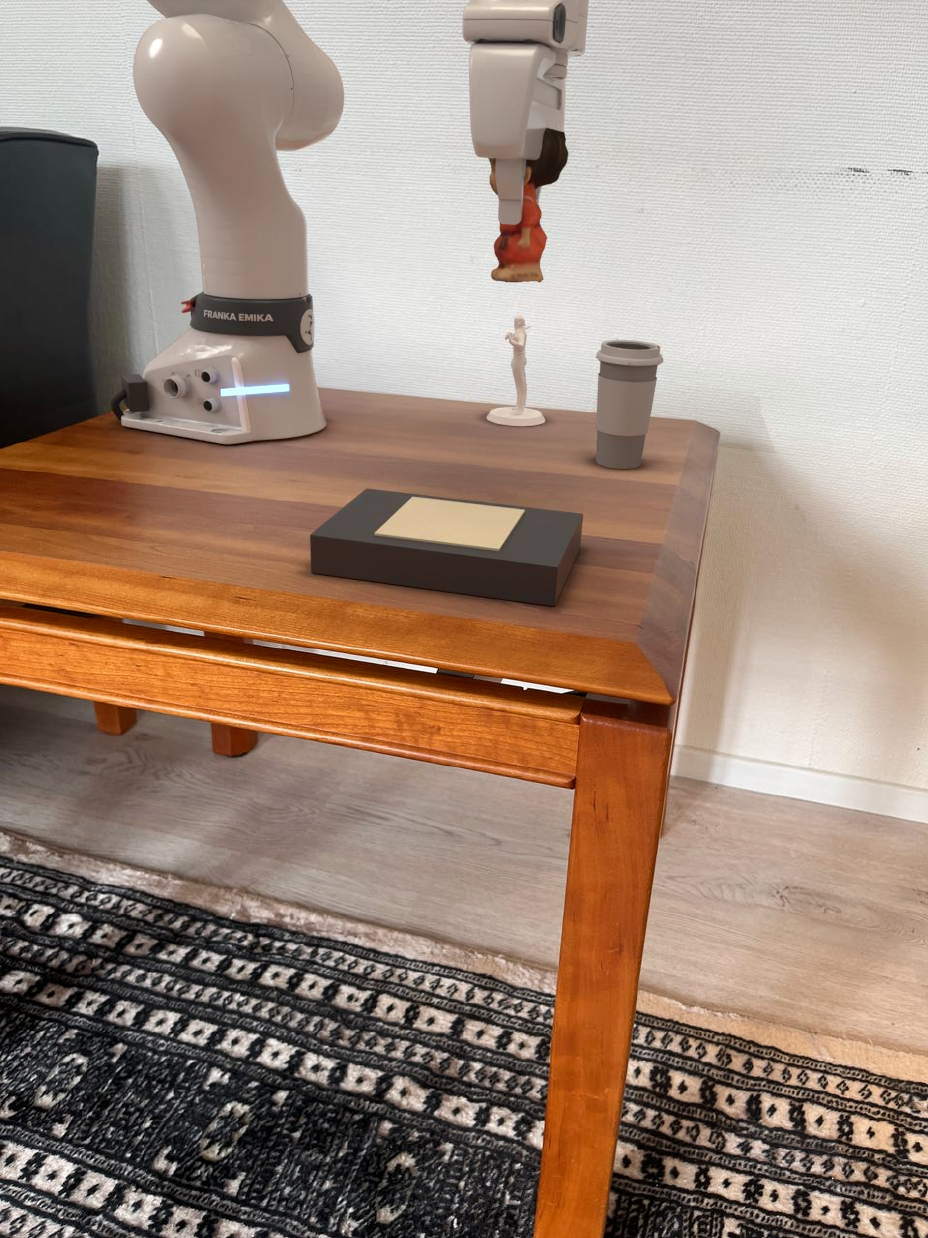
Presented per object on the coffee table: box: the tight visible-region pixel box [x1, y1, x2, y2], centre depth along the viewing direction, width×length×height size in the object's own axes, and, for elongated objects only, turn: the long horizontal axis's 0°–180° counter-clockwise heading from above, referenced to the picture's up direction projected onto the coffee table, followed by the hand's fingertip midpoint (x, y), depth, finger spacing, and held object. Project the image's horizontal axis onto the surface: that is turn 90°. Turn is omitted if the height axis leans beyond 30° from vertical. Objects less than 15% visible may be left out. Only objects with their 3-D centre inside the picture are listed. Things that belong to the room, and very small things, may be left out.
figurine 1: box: [487, 128, 569, 283], centre depth 80 cm, size 6×6×12 cm
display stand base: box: [309, 488, 584, 607], centre depth 74 cm, size 18×12×3 cm, turn 75°
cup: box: [595, 339, 664, 470], centre depth 100 cm, size 7×7×12 cm
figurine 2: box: [485, 314, 546, 427], centre depth 116 cm, size 7×7×12 cm
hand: (518, 222), depth 81 cm, fingers closed on figurine 1, 5 cm apart
